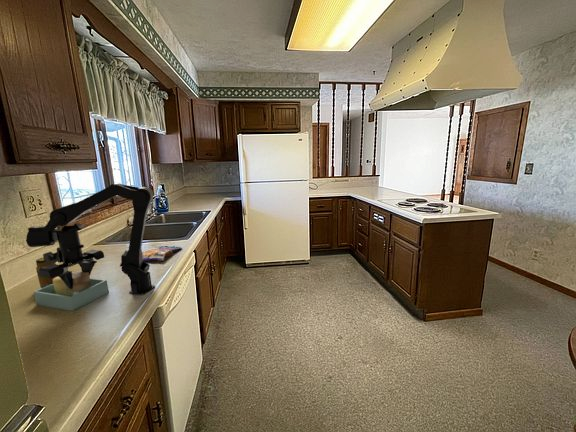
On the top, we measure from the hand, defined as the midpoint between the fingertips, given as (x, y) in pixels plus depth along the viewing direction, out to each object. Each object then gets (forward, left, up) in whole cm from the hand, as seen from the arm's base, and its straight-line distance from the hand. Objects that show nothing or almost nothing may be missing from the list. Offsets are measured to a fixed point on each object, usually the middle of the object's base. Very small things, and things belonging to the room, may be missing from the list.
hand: (78, 285), depth 96 cm
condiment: (-5, -22, -6) cm, 23 cm away
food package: (-45, -5, -7) cm, 46 cm away
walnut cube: (0, 0, -1) cm, 1 cm away
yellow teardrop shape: (0, -8, -5) cm, 9 cm away
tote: (0, -4, -6) cm, 7 cm away
